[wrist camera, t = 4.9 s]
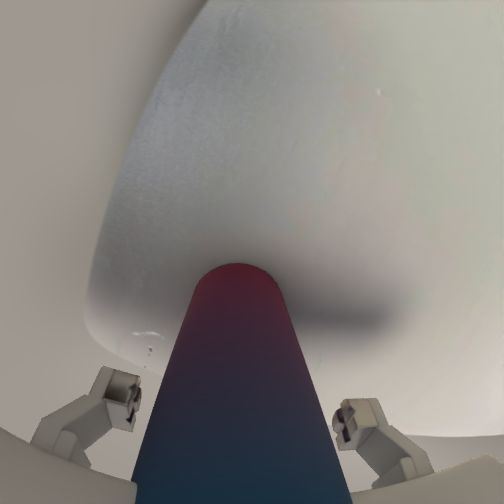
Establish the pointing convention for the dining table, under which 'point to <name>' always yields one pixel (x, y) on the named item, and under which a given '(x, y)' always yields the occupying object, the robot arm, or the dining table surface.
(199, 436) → the cup
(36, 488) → the robot arm
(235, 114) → the dining table surface
